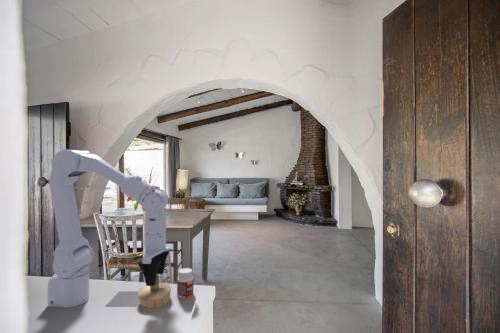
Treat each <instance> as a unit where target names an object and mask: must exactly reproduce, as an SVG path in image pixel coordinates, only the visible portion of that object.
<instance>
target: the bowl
mask: <svg viewBox="0 0 500 333" xmlns="http://www.w3.org/2000/svg"><path fill="white" fill-rule="evenodd" d="M170 300H171V293H170V294H169V295H167V296H166V297H164V298H161V299H158V300H152V301H147V300H142V299H140V301H139V304H140V306H141V307H143V308H145V309H154V308H155V309H157V308H159V307H164V306H165V305H166V304H168V303H169V302H170Z"/></svg>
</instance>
